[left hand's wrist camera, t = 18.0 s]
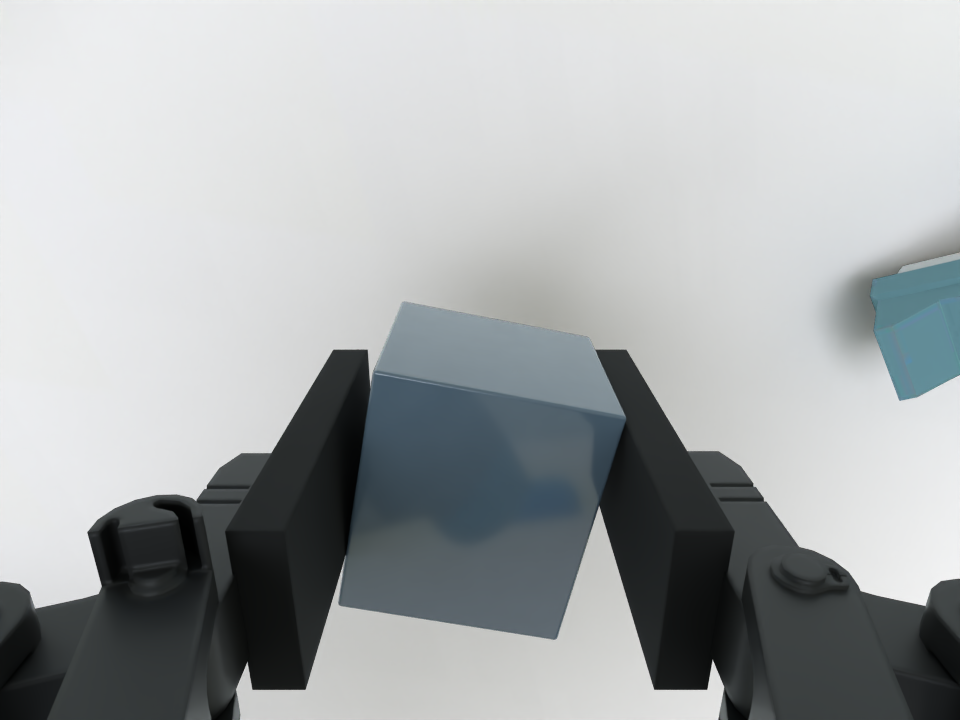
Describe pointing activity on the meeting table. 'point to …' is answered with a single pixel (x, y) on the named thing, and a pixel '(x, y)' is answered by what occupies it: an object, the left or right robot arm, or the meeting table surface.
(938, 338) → the toy gun
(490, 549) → the block
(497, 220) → the meeting table surface
